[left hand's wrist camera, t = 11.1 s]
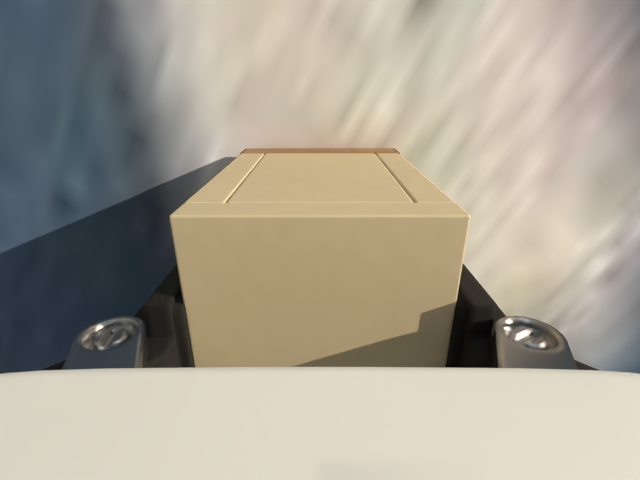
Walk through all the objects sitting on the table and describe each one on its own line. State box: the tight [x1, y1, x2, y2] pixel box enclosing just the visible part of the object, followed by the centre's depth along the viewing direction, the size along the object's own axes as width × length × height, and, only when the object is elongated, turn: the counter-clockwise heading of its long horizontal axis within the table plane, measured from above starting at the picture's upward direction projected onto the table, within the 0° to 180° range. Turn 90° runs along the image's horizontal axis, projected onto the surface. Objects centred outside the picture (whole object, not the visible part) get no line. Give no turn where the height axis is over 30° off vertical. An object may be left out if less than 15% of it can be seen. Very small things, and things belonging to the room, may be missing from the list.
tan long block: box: [169, 149, 470, 368], centre depth 15 cm, size 22×6×8 cm, turn 0°
